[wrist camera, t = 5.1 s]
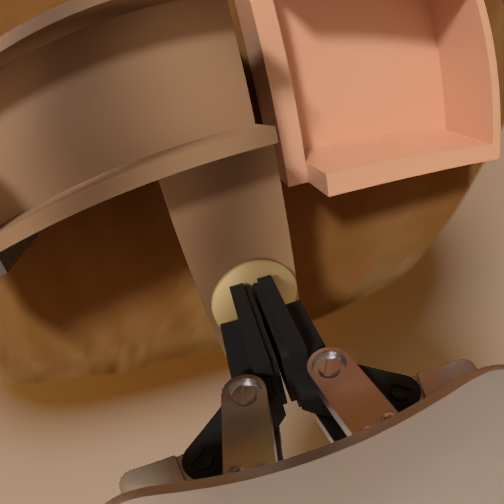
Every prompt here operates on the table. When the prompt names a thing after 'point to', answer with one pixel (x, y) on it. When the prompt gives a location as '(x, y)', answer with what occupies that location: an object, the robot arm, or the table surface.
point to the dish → (373, 87)
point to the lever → (144, 135)
